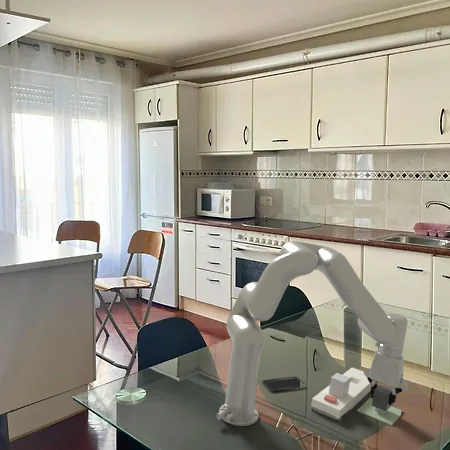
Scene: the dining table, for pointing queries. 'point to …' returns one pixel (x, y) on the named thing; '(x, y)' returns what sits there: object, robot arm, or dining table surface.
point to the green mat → (387, 417)
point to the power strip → (356, 393)
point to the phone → (282, 384)
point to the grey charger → (339, 385)
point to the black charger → (381, 398)
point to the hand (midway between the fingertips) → (382, 399)
